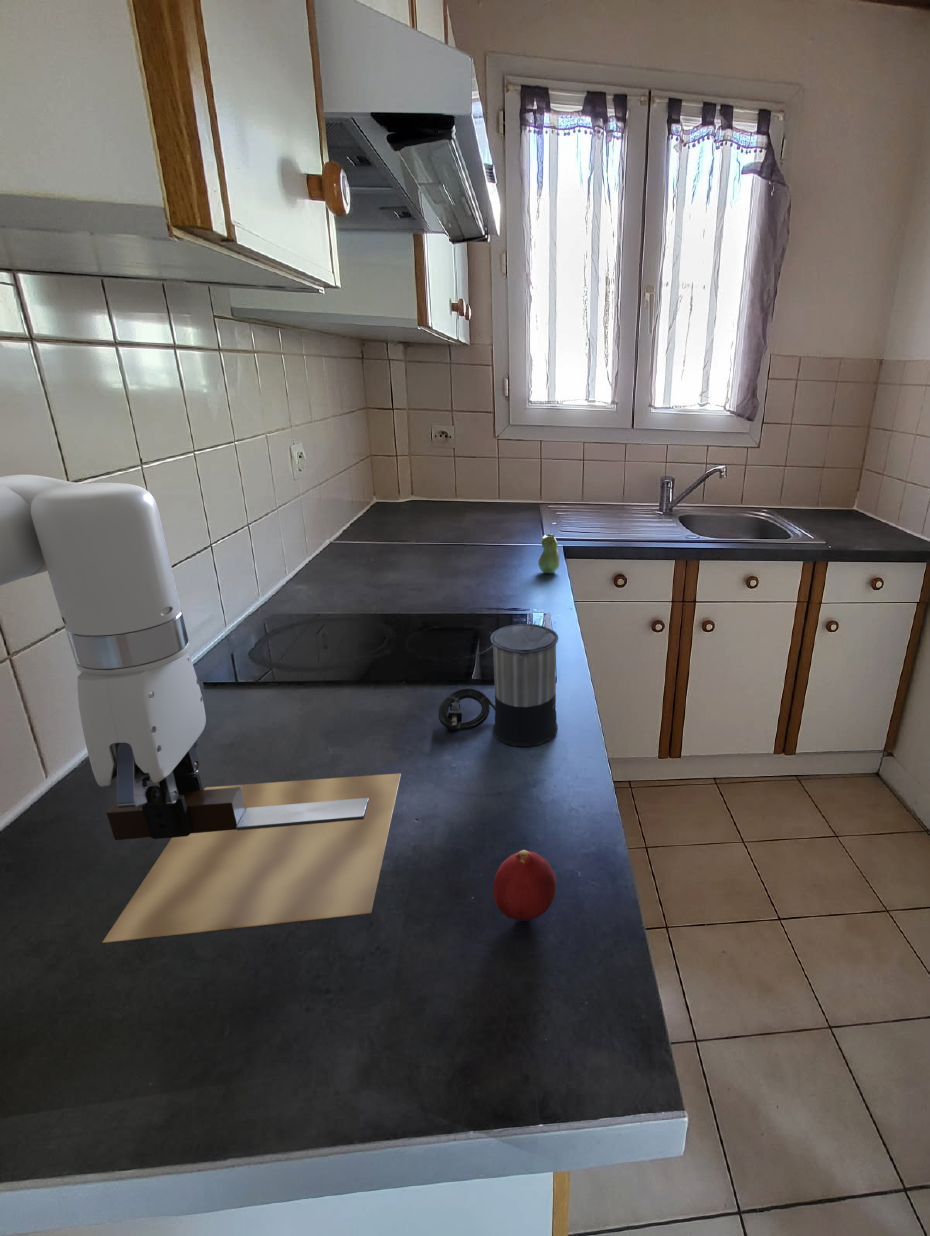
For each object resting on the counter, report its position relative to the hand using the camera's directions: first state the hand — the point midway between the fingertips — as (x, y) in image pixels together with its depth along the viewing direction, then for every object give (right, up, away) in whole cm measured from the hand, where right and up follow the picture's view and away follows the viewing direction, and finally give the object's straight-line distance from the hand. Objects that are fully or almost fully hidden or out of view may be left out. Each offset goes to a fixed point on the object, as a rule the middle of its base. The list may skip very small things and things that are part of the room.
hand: (179, 822), depth 58 cm
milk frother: (+23, +3, +34) cm, 41 cm away
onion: (+31, -10, +3) cm, 33 cm away
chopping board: (+4, -6, +9) cm, 12 cm away
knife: (+5, 0, +1) cm, 6 cm away
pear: (+22, +30, +104) cm, 110 cm away
